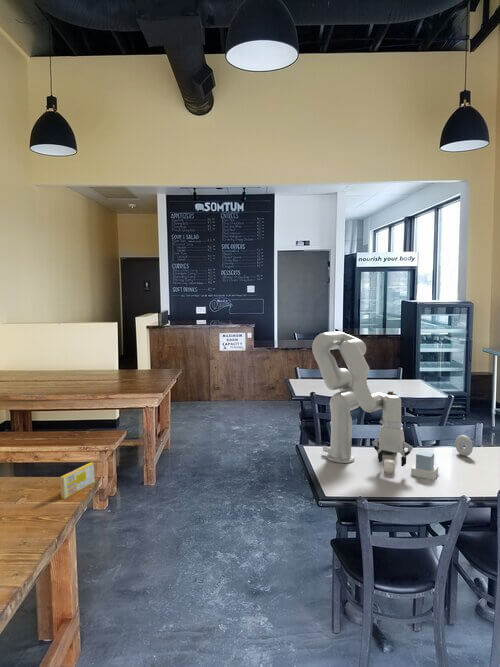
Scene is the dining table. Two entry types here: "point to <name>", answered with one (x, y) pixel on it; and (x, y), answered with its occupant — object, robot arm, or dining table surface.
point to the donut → (467, 443)
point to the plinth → (424, 472)
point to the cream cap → (389, 466)
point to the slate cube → (425, 460)
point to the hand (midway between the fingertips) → (391, 463)
